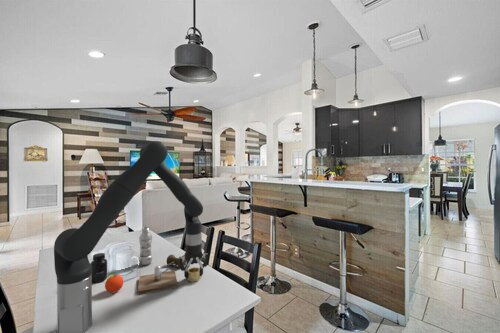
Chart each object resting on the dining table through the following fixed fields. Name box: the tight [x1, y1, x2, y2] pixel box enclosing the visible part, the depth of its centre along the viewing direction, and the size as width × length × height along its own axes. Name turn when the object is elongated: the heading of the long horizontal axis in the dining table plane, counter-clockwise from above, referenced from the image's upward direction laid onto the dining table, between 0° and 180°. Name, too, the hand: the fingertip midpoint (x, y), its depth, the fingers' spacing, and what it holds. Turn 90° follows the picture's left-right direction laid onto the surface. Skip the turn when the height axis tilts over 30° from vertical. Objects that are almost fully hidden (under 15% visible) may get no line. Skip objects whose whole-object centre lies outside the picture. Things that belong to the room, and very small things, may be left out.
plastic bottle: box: [138, 226, 153, 266], centre depth 126 cm, size 6×7×20 cm
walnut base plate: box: [137, 269, 178, 296], centre depth 107 cm, size 14×16×2 cm
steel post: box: [153, 265, 162, 281], centre depth 107 cm, size 3×3×6 cm
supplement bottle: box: [89, 252, 108, 284], centre depth 110 cm, size 7×7×12 cm
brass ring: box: [186, 266, 201, 283], centre depth 111 cm, size 6×6×4 cm
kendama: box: [166, 251, 187, 270], centre depth 128 cm, size 6×10×20 cm
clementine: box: [104, 274, 124, 294], centre depth 100 cm, size 8×7×7 cm
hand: (193, 276), depth 111 cm, fingers closed on brass ring, 6 cm apart
